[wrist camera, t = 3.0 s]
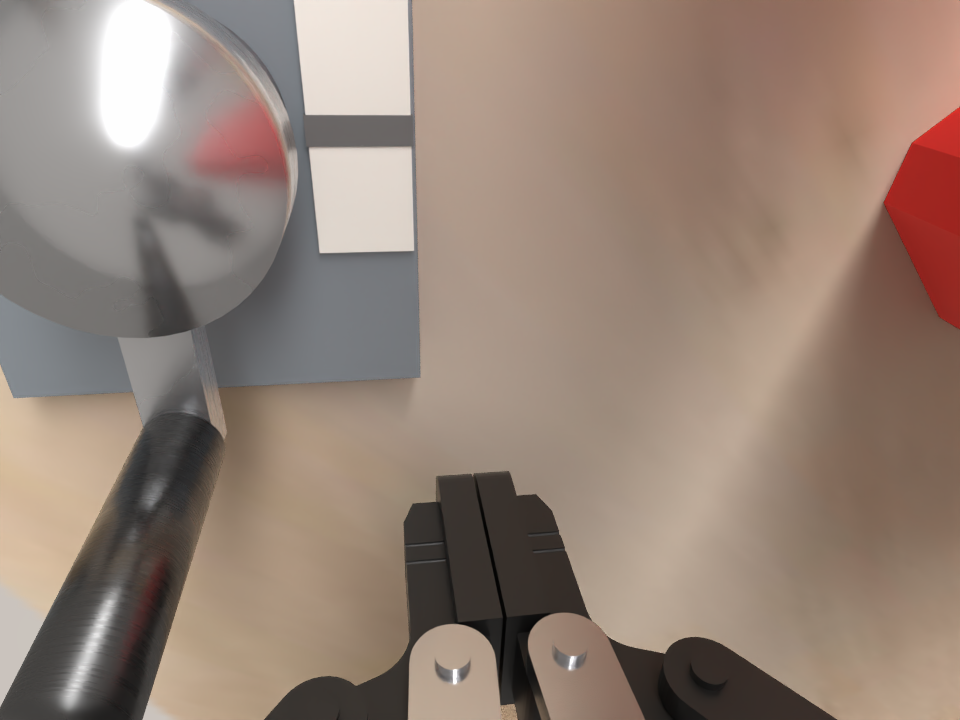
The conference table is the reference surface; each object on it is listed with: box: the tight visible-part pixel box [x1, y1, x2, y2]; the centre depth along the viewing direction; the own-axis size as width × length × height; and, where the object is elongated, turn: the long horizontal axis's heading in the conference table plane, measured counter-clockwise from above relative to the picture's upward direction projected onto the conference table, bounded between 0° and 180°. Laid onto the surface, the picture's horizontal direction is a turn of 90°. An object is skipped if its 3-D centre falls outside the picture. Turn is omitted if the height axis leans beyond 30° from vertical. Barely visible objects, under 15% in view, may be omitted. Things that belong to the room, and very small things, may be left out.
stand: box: [0, 0, 420, 398], centre depth 15 cm, size 11×14×4 cm
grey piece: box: [0, 0, 298, 720], centre depth 10 cm, size 6×13×8 cm, turn 178°
